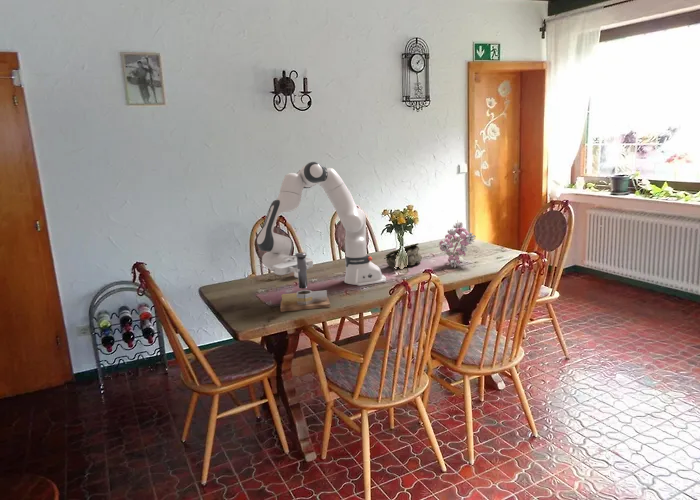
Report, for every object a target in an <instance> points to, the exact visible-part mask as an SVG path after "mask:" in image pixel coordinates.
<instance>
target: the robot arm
mask: <svg viewBox="0 0 700 500" xmlns="http://www.w3.org/2000/svg"><path fill="white" fill-rule="evenodd" d="M316 185H319V186H321V188H322V190H323V191H324V193H325V194H326V197H328V199H329V201H330V203H331V204H332V206H333V208H334V210H335V212H336V214H337V217H338V218H339V220H340V223H341V224H342V227H343V229H344V230H345V235H344V236H345V237H344V238H345V239H344V244H345V245H344V246H345V257H344V263H345V265H344V266H345V276H344V277H345V278H344V281H343V282H344V283H345V284H348V285H354V286H365V285H372V284H380V283H385V282H386V281H387V277H386V276H385V275H384V274H383V273H382V270H381V268H380V267H379V266H378V265H377V264H375V263H373V261H372V260H373V257H372V256H371V255H369V254H367V223H366V222H367V218H366V216H367V215H366V213H365V211H364V210H362V208H359V207H358V206H357V204H356V202H355V200H354V198H353V195H352V193H351V191H350V189H349V188H348V187H347V185H346V183H345V182H344V179H343V178H342V177H341V176H340V174H339V173H338V172H337V171H336V170H335V169H334V168H332V167H328V168H327V167H326V166H324V165H323V164H321V163H320V162H318V161H309V162H308V163H307V164H305V165H303V166H302V167H301V169H299V170H298V171H297V172H296V173H295V172H289V173H287V174H285V175H284V178H283V179H282V183H281V186H280V189H279V194H278V197H277V198H276V200H273V201H272V202H271V204H270V206H269V208H268V211H267V214H266V216H265V219H264V221H263V224H262V226H261V230H260V232H259V233H258V235H257V238H256V245H257V247H258V249H259V250H260V251H261V252H262V251H263V252H265V253H264V254H263V255H262V256H261V262H262V264H263V266H264V267H265V268H266V269H269V271H271V272H273V274H275V275H277V276H284V275H288V274H291V273H294V272H300V269H299V268H298V266H297V257H296V254H295V255H293V254H292V251H293V247H294V246H293V241H292V239H291V238H290V237H289V236H285V235H283V234H279V233H276V232H274V229H275V227H276V224H277V223H276V222H277V220H278V217H279V216H280V215H281V214H283V213H291V212H294V211H296V209H298V208H299V206H300V204H301V201H302V194H303V190H304V189H310V188H312V187H314V186H316ZM291 254H292V255H291ZM313 262H314V261H313V259H311V258H309V257H306V271H307V270H310V268H313V266H314V263H313Z"/></svg>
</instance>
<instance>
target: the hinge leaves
mask: <svg viewBox="0 0 700 500" xmlns="http://www.w3.org/2000/svg"><path fill="white" fill-rule="evenodd" d="M327 291H328V290H327V289H326V290H315V291H314V290H313V291H312V290H308V289H302V290H297V291H296V292H293V293H283V294H281V301H282V305H287V304H298V305H308V304H312V303H313V302H319V301H327V297H328V294H327V293H328V292H327Z"/></svg>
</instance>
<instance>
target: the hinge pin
mask: <svg viewBox="0 0 700 500" xmlns="http://www.w3.org/2000/svg"><path fill="white" fill-rule="evenodd" d="M295 255H296V257H297V266H298V268H299V269H300V272H298V278H297V279H298V280H297V281H298V288H299V289H302V290H305V289H307V288H308V276H307V275H308V273H307V270H306V258H307V252H297V253H295Z"/></svg>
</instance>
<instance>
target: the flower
mask: <svg viewBox="0 0 700 500" xmlns="http://www.w3.org/2000/svg"><path fill="white" fill-rule="evenodd" d="M463 226H464V224H463V222H460V221H458V219H457V221H456V222H455V224H453V226H452V227H453V228H451V229H447V233H448V234H445V235H444V238H445V239H444V240H443V239H441V240H440V241H439V244H437V246H436V248H439V250H440V251H442V252H445V255H446V256H448V258H447V261H448V263H449V265H450V268H456V267H458V266H459V264H460V263H465V260H464V258H463V257H466V255H467V253H466V252H467V251H468V250H469V249H468V248H467V246H469V245H473V243H474V242H475V239H476V235H475V234H474V233H473V232H469V231H468V230H467V229H466V228H465V227H463ZM456 234H457V235H458V236H457V235H456ZM454 243H455V246H454ZM459 244H460V247H458V245H459ZM453 247H454V248H453ZM452 248H453V250H452V251H451V249H452ZM462 256H463V257H462Z"/></svg>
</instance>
